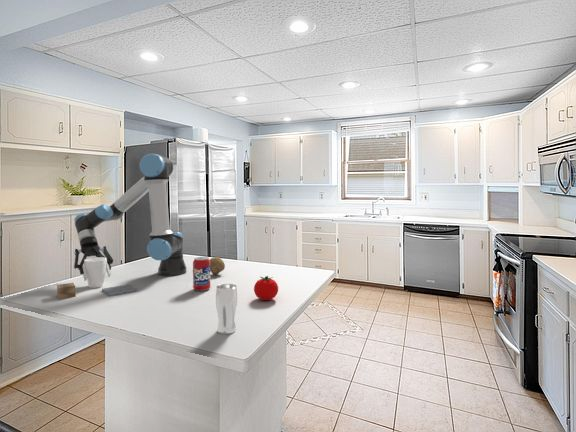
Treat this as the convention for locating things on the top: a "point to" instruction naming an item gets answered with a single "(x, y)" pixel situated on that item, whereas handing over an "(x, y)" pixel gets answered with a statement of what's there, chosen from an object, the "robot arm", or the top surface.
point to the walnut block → (66, 290)
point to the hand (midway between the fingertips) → (97, 277)
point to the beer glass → (226, 307)
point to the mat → (119, 290)
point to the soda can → (201, 274)
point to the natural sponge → (216, 265)
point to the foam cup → (95, 271)
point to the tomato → (266, 288)
